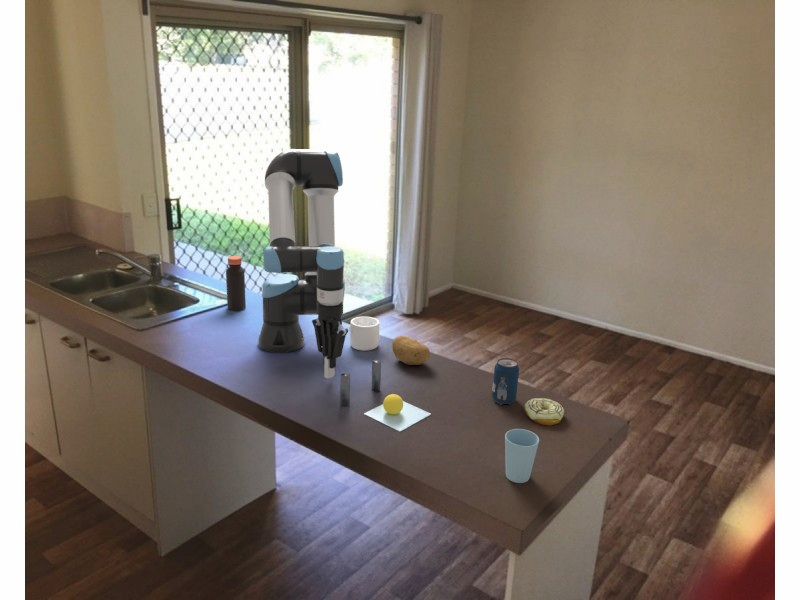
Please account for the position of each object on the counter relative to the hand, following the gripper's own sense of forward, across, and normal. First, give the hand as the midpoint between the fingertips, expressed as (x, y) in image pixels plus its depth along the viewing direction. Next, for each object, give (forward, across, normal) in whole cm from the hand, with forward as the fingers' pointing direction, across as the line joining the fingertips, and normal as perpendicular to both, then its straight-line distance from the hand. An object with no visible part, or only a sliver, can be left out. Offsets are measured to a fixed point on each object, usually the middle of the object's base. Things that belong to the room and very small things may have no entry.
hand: (329, 376), depth 193 cm
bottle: (+2, -71, +18) cm, 73 cm away
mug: (+2, -12, +28) cm, 31 cm away
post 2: (+2, +13, +6) cm, 15 cm away
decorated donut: (+2, +56, +28) cm, 63 cm away
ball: (-1, +26, -1) cm, 26 cm away
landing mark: (+2, +27, 0) cm, 27 cm away
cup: (+2, +66, -2) cm, 66 cm away
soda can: (+2, +43, +28) cm, 51 cm away
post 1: (+2, +13, -6) cm, 15 cm away
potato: (+2, +8, +28) cm, 29 cm away
